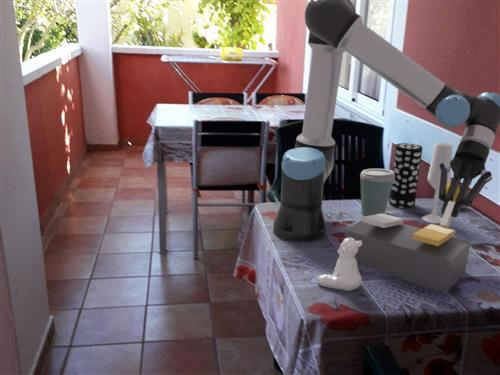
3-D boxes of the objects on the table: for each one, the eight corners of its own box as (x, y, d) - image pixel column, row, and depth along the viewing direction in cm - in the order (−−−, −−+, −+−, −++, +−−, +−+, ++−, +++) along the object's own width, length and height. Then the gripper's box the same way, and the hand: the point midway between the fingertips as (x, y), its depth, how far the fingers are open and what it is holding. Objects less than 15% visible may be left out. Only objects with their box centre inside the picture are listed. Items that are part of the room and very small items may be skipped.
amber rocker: (430, 228, 123) (431, 223, 123) (454, 235, 119) (455, 229, 119) (411, 238, 114) (412, 233, 114) (437, 246, 110) (438, 240, 110)
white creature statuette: (340, 271, 120) (345, 225, 116) (371, 285, 114) (376, 237, 110) (315, 284, 114) (319, 235, 110) (345, 299, 108) (350, 248, 104)
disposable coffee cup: (350, 217, 154) (355, 171, 149) (362, 207, 162) (366, 163, 158) (384, 225, 148) (389, 177, 144) (394, 214, 157) (400, 169, 152)
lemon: (437, 202, 169) (441, 180, 167) (453, 202, 170) (456, 179, 167) (445, 208, 164) (448, 185, 162) (461, 207, 165) (464, 185, 162)
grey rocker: (381, 218, 131) (382, 213, 131) (402, 223, 127) (404, 218, 127) (361, 221, 122) (362, 216, 121) (384, 227, 118) (385, 222, 118)
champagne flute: (449, 221, 152) (461, 145, 145) (432, 224, 150) (443, 147, 142) (433, 214, 158) (444, 140, 151) (417, 216, 156) (427, 142, 148)
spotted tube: (414, 201, 169) (422, 144, 163) (414, 209, 162) (422, 150, 155) (389, 198, 172) (396, 142, 165) (388, 206, 164) (394, 147, 158)
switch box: (368, 241, 137) (371, 214, 134) (465, 271, 121) (470, 241, 118) (342, 258, 126) (345, 229, 124) (445, 293, 111) (450, 261, 108)
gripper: (502, 159, 127) (473, 240, 120) (450, 150, 135) (420, 226, 128) (500, 142, 121) (470, 226, 114) (446, 135, 129) (415, 213, 122)
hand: (444, 226), depth 121 cm, fingers closed
